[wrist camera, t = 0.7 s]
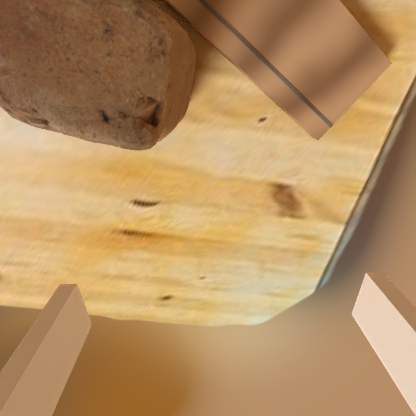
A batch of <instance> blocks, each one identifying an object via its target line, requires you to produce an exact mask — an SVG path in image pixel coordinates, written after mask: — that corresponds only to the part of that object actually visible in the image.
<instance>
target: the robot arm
mask: <svg viewBox="0 0 416 416" xmlns="http://www.w3.org/2000/svg"><path fill="white" fill-rule="evenodd" d="M352 315H353V317H354V319H355V320H356V322H357V323H358V325H359V326H360V328H361V330H362V331H363V333H364V334H365V336H366V338H367V339H368V341H369V342H370V344H371V346H372V347H373V349H374V350H375V352H376V354H377V355H378V357H379V358H380V360H381V361H382V363H383V365H384V366H385V368H386V369H387V371H388V373H389V374H390V376H391V378H392V379H393V381H394V382H395V384H396V385H397V387H398V389H399V390H400V392H401V393H402V395H403V397H404V398H405V400H406V401H407V403H408V405H409V406H410V408H411V409H412V411H413V412H414V414H415V416H416V307H415V306H414V305H413V304H412V303H411V302H410V301H409V300H408V299H407V298H406V297H405V295H404V294H403V293H402V292H401V291H400V290H399V289H398V288H397V287H396V286H395V285H394V283H393V282H392V281H390V279H389V278H388V277H387V276H386V275H385V274H384V273H383V272H368V273H366V274H365V277H364V280H363V283H362V286H361V289H360V292H359V295H358V298H357V301H356V304H355V306H354V309H353V312H352ZM91 326H92V324H91V321H90V318H89V315H88V313H87V310H86V307H85V304H84V302H83V299H82V296H81V294H80V291H79V288H78V286H77V284H63V285H59V287H58V288H57V290H56V291H55V293H54V294H53V296H52V297H51V298H50V300H49V301H48V303H47V304H46V306H45V307H44V309H43V310H42V312H41V313H40V315H39V316H38V318H37V319H36V321H35V322H34V324H33V325H32V326H31V328H30V329H29V331H28V332H27V334H26V335H25V337H24V338H23V340H22V341H21V343H20V345H19V346H18V347H17V349H16V350H15V352H14V353H13V354H12V356H11V358H10V359H9V360H8V362H7V363H6V365H5V366H4V368H3V369H2V371H1V372H0V416H52V414H53V412H54V409H55V407H56V405H57V403H58V400H59V398H60V396H61V394H62V391H63V389H64V387H65V384H66V382H67V380H68V378H69V375H70V373H71V371H72V369H73V366H74V364H75V362H76V359H77V357H78V355H79V353H80V351H81V348H82V346H83V344H84V341H85V339H86V337H87V335H88V332H89V330H90V328H91Z"/></svg>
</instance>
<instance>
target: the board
mask: <svg viewBox="0 0 416 416" xmlns="http://www.w3.org/2000/svg"><path fill="white" fill-rule="evenodd" d="M164 1H166V2H167V3H168V4H169V5H170V6H171V7H172V8H173V9H174V10H175V11H176V12H177V13H179V14H180V15H181V16H182V17H183V18H184V19H185V20H186V21H187V22H188V23H189V24H190V25H192V26H193V27H194V28H195V29H196V30H197V31H198V32H199V33H200V34H201V35H202V36H203V37H204V38H206V39H207V40H208V41H209V42H210V43H211V44H212V45H213V46H214V47H215V48H216V49H217V50H219V51H220V52H221V53H222V54H223V55H224V56H225V57H226V58H227V59H228V60H229V61H230V62H232V63H233V64H234V65H235V66H236V67H237V68H238V69H239V70H240V71H241V72H242V73H243V74H245V75H246V76H247V77H248V78H249V79H250V80H251V81H252V82H253V83H254V84H255V85H256V86H257V87H259V88H260V89H261V90H262V91H263V92H264V93H265V94H266V95H267V96H268V97H269V98H270V99H272V100H273V101H274V102H275V103H276V104H277V105H278V106H279V107H280V108H281V109H282V110H283V111H285V112H286V113H287V114H288V115H289V116H290V117H291V118H292V119H293V120H294V121H295V122H296V123H298V124H299V125H300V126H301V127H302V128H303V129H304V130H305V131H306V132H307V133H308V134H309V135H310V136H312V137H313V138H315V139H317V140H319V139H320V138H321V137H322V136H323V135H324V134H325V132H326V131H327V130H328V129H329V128H330V127H332V126H333V124H334V123H335V122H336V121H337V120H338V119H339V118H340V117H341V116H342V115H343V114H344V113H345V112H346V111H347V110H348V109H349V107H350V106H351V105H352V104H353V103H354V102H355V101H356V100H357V99H358V98H359V97H360V96H361V95H362V94H363V93H364V92H365V91H366V90H367V89H368V88H369V87H370V86H371V85H372V84H373V82H374V81H375V80H376V79H377V78H378V77H379V76H380V75H381V74H382V73H383V72H384V71H385V70H386V69H387V68H388V67H389V66H390V65H391V64H392V63H391V61H390V60H389V59H388V58H387V57H386V55H385V54H384V53H383V52H382V51H381V49H380V48H379V47H378V46H377V45H376V43H375V42H374V41H373V40H372V39H371V37H370V36H369V35H368V34H367V32H366V31H365V30H364V29H363V28H362V26H361V25H360V24H359V23H358V22H357V20H356V19H355V18H354V17H353V16H352V14H351V13H350V12H349V11H348V9H347V8H346V7H345V6H344V5H343V3H342V2H341V1H340V0H164Z"/></svg>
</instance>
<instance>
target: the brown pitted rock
mask: <svg viewBox="0 0 416 416" xmlns="http://www.w3.org/2000/svg"><path fill="white" fill-rule="evenodd" d="M195 66H196V49H195V47H194V45H193V42H192V40H191V39H190V37H189V35H188V34H187V33H186V31H185V30H184V29H183V28H182V27H181V26H180V25H179V24H178V23H177V22H176V21H175V19H174V18H172V17H171V16H170V15H168V14H167V13H166V12H164V11H163V10H162V9H160V8H159V7H157V6H156V5H155V4H153V3H152V2H150V1H149V0H0V107H1V108H3V109H4V110H5V111H6V112H7V113H8V114H9V115H10V116H11V117H12V118H15V119H17V120H19V121H21V122H24V123H26V124H28V125H31V126H34V127H38V128H42V129H46V130H50V131H55V132H59V133H62V134H64V135H69V136H73V137H77V138H80V139H83V140H86V141H90V142H95V143H102V144H107V145H112V146H116V147H120V148H124V149H130V150H146V149H150V148H152V147H153V146H154V145H155V144H156V143H157V142H158V141H161V140H162V139H163V138H164V137H166V136H167V135H168V134H169V133H170V132H171V131H172V130H173V129H174V128H175V127H176V126H177V124H178V123H179V122H180V121H181V120H182V119H183V117H184V115H185V113H186V111H187V109H188V105H189V101H190V95H191V90H192V85H193V79H194V74H195Z"/></svg>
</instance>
